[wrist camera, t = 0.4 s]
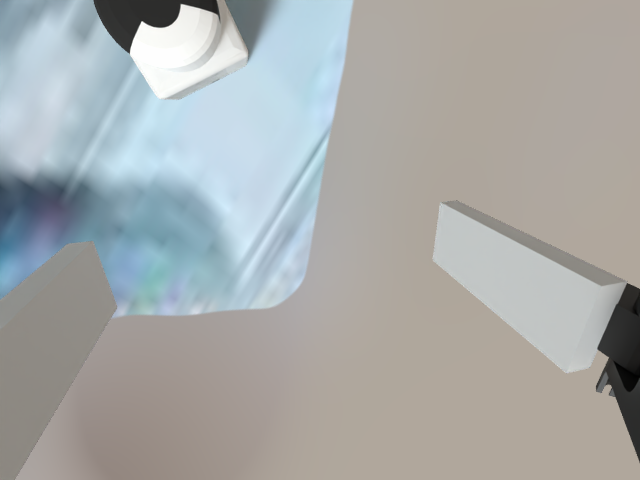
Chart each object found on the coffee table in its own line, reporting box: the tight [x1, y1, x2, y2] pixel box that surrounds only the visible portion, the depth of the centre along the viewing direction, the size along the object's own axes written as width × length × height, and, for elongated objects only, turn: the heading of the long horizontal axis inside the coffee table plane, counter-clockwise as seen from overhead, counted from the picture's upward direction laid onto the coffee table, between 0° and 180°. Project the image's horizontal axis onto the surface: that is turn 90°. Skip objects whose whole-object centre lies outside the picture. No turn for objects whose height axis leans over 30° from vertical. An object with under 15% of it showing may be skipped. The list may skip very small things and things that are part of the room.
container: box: [94, 0, 248, 100], centre depth 23 cm, size 8×8×13 cm
